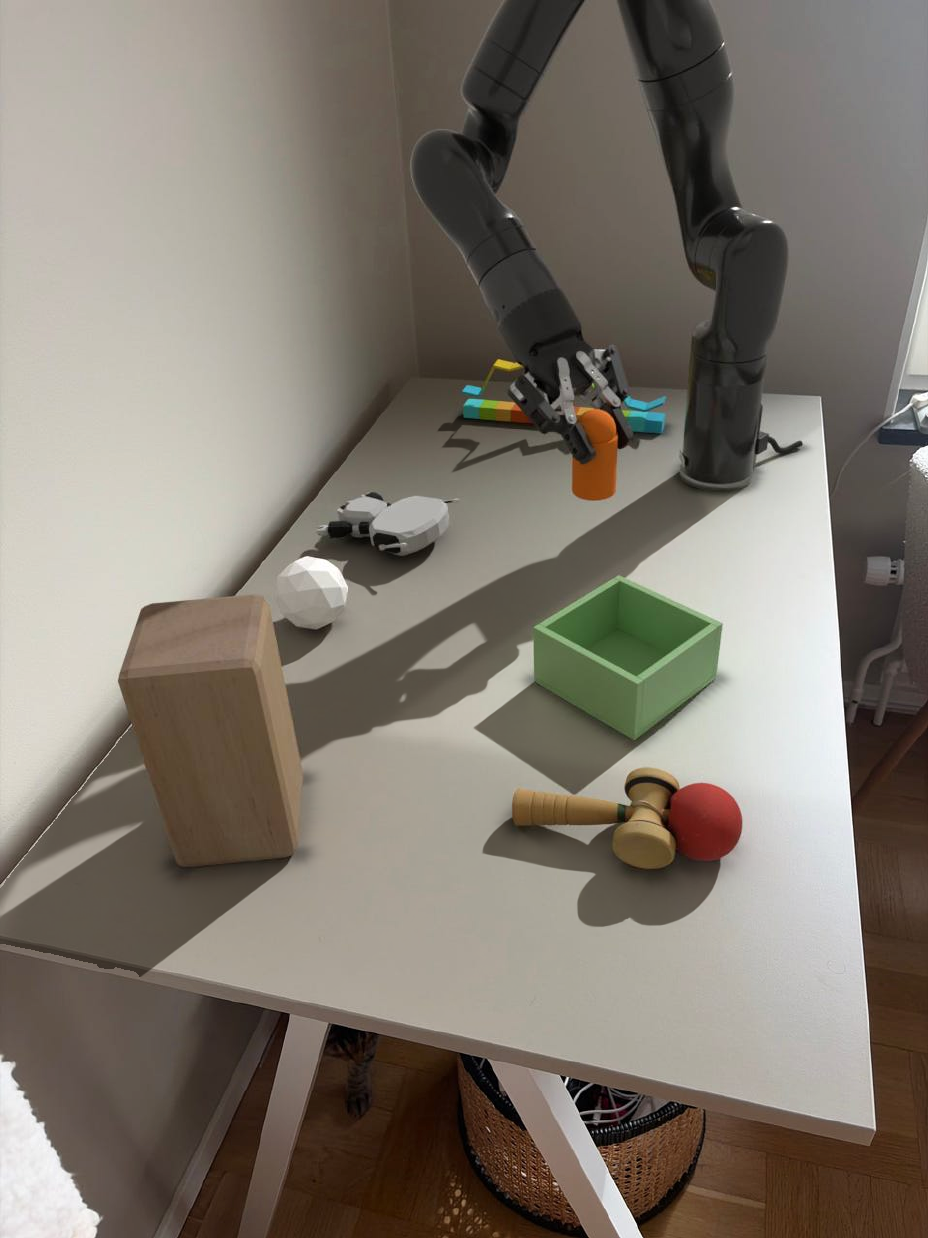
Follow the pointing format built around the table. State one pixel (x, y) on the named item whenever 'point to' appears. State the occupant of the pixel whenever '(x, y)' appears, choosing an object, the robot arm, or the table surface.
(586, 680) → the bin
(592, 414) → the orange peg figure
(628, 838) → the kendama
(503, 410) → the chart
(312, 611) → the geometric ball
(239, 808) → the block
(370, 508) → the robot toy
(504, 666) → the table surface
